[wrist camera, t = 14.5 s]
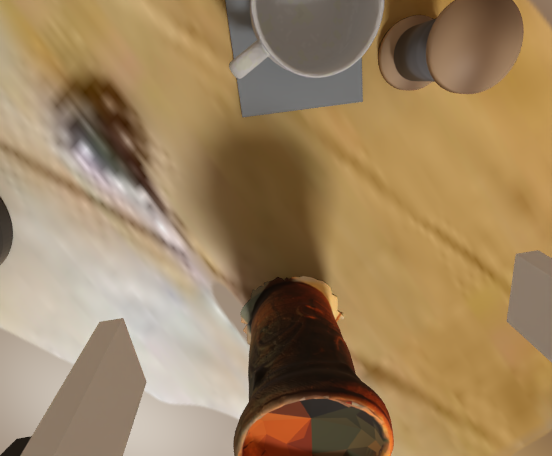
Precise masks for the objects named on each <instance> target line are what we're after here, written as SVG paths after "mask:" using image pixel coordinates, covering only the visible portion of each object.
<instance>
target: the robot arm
mask: <svg viewBox="0 0 552 456" xmlns="http://www.w3.org/2000/svg"><path fill="white" fill-rule="evenodd" d="M12 239H13V231H12V224H11V220H10V217H9V214H8V212H7V210H6V208H5V206H4V204H3V202H2V201H1V199H0V265H1V264H2V263H3V262H4V260H5V259H6V257H7V256H8V254H9V251H10V249H11V245H12ZM507 322H508V323H509V324H510V325H511V326H512V327H514V328H515V329H516V330H517V331H518V332H519V333H520V334H521V335H522V336H523V337H524V338H526V339H527V340H528V341H529V342H530V343H531V344H532V345H533V346H534V347H535V348H536V349H538V350H539V351H540V352H541V353H542V354H543V355H544V356H545V357H546V358H547V359H548V360H550V361H551V362H552V258H550V257H549V256H547V255H545V254H544V253H542V252H540V251H531V252H525V253H519V254H516V257H515V264H514V272H513V279H512V286H511V294H510V301H509V309H508V316H507ZM145 385H146V379H145V377H144V374H143V371H142V368H141V366H140V363H139V360H138V357H137V355H136V352H135V349H134V346H133V344H132V341H131V338H130V335H129V333H128V330H127V327H126V324H125V322H124V319H123V318H121V319H115V320H109V321H103V322H99V324H98V326H97V327H96V329H95V331H94V332H93V334H92V336H91V337H90V339H89V341H88V342H87V344H86V346H85V348H84V349H83V351H82V353H81V354H80V356H79V358H78V359H77V361H76V363H75V364H74V366H73V368H72V370H71V371H70V373H69V375H68V376H67V378H66V380H65V382H64V383H63V385H62V386H61V388H60V390H59V391H58V393H57V395H56V396H55V398H54V400H53V402H52V403H51V405H50V407H49V408H48V410H47V412H46V413H45V415H44V417H43V418H42V420H41V422H40V423H39V425H38V427H37V428H36V430H35V432H34V434H33V435H32V436H31V437H25V438H20V439H16V440H15V441H14V442H13V443H12V444H11V445H10V446H9V447H8V448H7V449H6V450H5V451H4V452H3V453H2V454H1V455H0V456H123V453H124V450H125V447H126V444H127V441H128V438H129V435H130V431H131V428H132V425H133V422H134V419H135V415H136V413H137V410H138V407H139V403H140V400H141V397H142V394H143V391H144V388H145Z"/></svg>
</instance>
